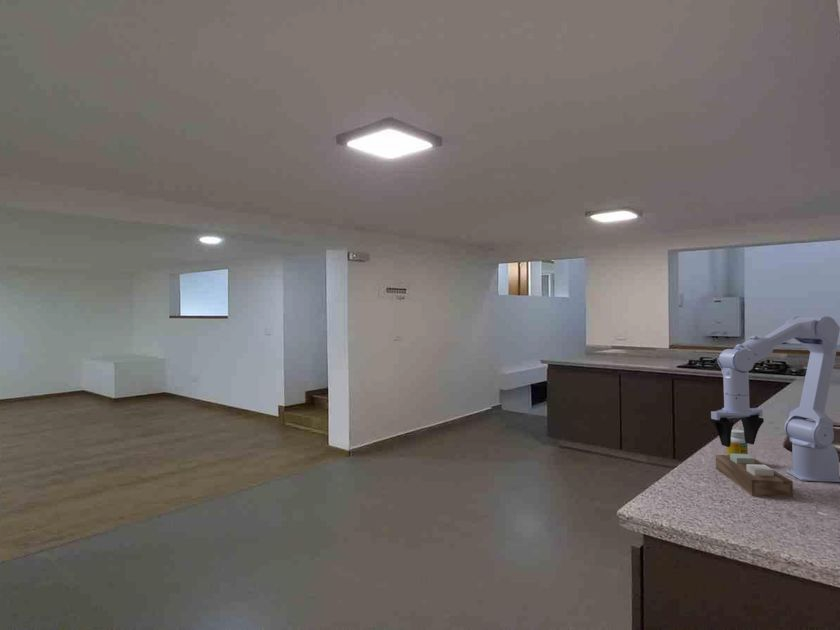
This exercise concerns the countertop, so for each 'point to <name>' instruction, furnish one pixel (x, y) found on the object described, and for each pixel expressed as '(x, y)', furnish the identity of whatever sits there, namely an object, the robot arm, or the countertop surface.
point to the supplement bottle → (737, 443)
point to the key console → (755, 479)
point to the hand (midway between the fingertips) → (737, 444)
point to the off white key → (759, 470)
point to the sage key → (742, 459)
